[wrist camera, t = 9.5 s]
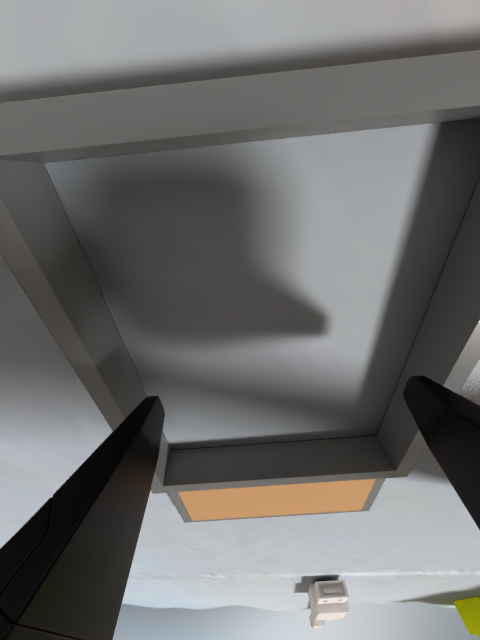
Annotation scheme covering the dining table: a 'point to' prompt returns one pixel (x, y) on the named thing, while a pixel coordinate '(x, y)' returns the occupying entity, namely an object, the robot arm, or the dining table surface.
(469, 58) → the gray rectangular frame
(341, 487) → the lid
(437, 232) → the dining table surface
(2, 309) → the dining table surface
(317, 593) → the charging cable
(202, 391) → the dining table surface
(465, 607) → the cheese wedge
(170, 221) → the dining table surface
